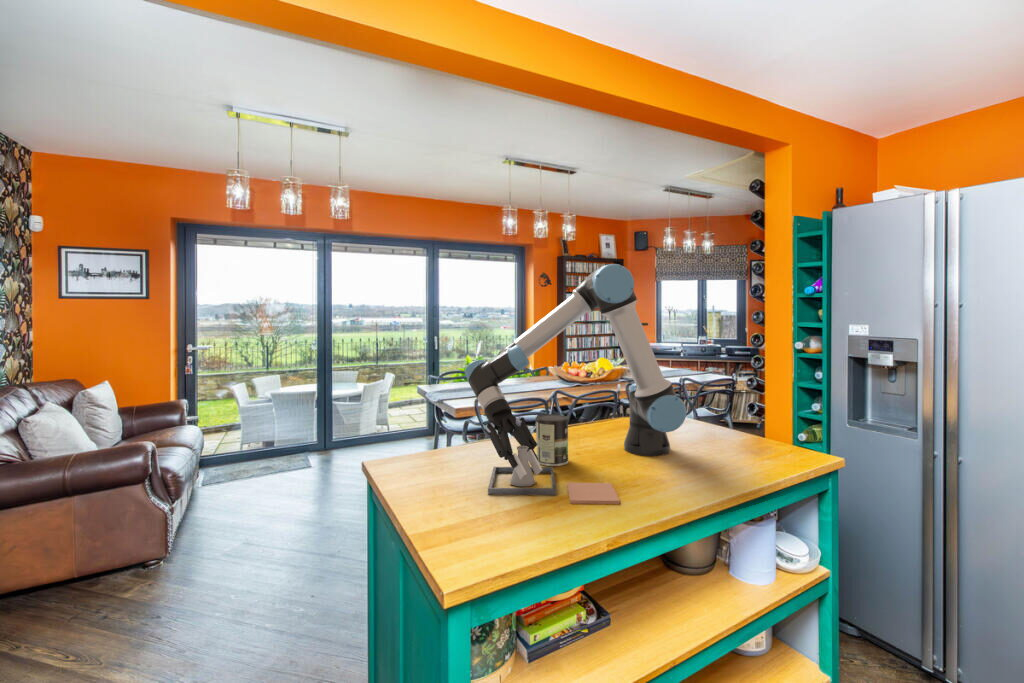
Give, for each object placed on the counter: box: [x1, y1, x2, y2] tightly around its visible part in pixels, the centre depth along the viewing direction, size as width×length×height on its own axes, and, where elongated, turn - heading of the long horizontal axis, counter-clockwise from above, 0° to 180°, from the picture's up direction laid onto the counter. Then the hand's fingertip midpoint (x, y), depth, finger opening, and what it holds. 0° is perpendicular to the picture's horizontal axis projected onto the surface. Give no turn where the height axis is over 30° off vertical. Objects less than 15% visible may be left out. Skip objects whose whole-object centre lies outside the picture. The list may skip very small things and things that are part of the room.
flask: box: [509, 445, 536, 487], centre depth 126 cm, size 7×7×10 cm
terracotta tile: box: [566, 482, 621, 505], centre depth 117 cm, size 12×12×1 cm
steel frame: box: [487, 466, 557, 496], centre depth 126 cm, size 18×18×2 cm
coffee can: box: [535, 413, 569, 467], centre depth 144 cm, size 10×10×14 cm
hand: (531, 474), depth 123 cm, fingers open, 5 cm apart
